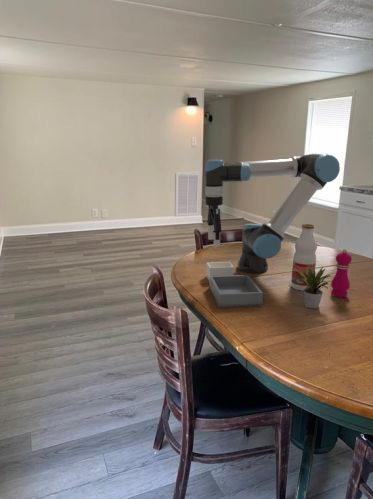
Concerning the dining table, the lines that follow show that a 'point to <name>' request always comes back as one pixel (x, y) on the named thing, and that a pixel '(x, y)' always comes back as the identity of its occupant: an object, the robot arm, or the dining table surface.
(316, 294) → the house plant
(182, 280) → the dining table surface
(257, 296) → the slate crate
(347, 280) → the pepper mill
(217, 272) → the white crate
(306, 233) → the fruit juice
